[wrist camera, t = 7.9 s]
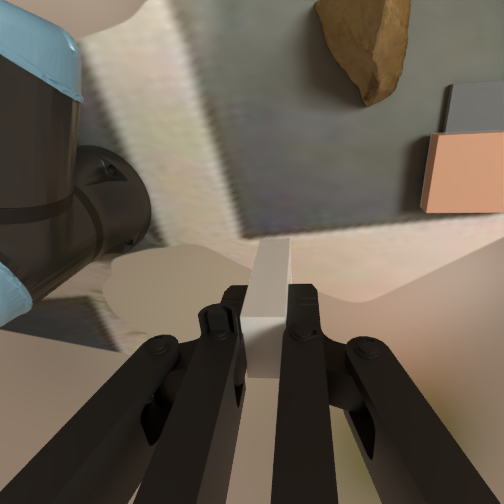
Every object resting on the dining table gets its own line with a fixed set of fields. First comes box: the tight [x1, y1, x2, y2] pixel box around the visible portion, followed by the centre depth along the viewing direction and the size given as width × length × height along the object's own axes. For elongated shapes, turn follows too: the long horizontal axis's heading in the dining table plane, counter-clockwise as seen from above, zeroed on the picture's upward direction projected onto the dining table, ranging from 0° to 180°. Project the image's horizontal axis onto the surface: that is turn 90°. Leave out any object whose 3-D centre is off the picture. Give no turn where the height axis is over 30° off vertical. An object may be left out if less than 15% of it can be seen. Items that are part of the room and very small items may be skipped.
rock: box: [315, 0, 411, 106], centre depth 31 cm, size 11×9×10 cm
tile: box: [420, 130, 504, 213], centre depth 34 cm, size 2×8×10 cm
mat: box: [443, 81, 504, 133], centre depth 34 cm, size 10×11×1 cm
